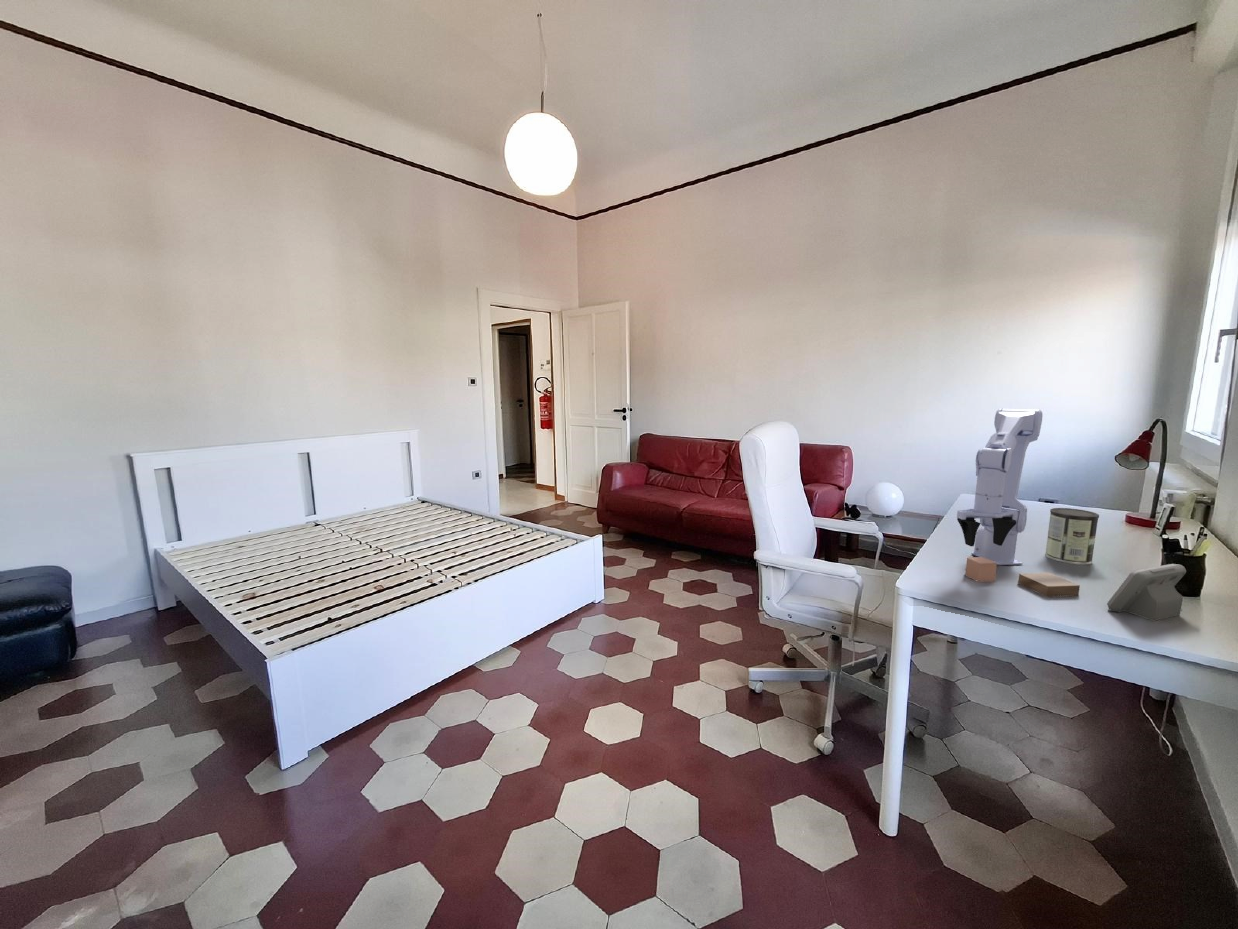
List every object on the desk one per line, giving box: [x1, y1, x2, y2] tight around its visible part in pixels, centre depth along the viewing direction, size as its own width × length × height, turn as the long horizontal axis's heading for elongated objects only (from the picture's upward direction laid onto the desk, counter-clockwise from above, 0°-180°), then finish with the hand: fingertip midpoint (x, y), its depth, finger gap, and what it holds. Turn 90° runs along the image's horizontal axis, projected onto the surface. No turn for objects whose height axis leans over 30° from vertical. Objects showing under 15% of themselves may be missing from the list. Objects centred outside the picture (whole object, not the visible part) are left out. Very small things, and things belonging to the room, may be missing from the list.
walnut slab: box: [1018, 572, 1081, 598], centre depth 120 cm, size 8×8×3 cm
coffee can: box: [1044, 507, 1100, 566], centre depth 140 cm, size 10×10×14 cm
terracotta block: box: [964, 556, 998, 583], centre depth 128 cm, size 4×4×5 cm
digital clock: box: [1107, 563, 1187, 621], centre depth 108 cm, size 16×9×11 cm, turn 95°
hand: (983, 544), depth 126 cm, fingers open, 7 cm apart
